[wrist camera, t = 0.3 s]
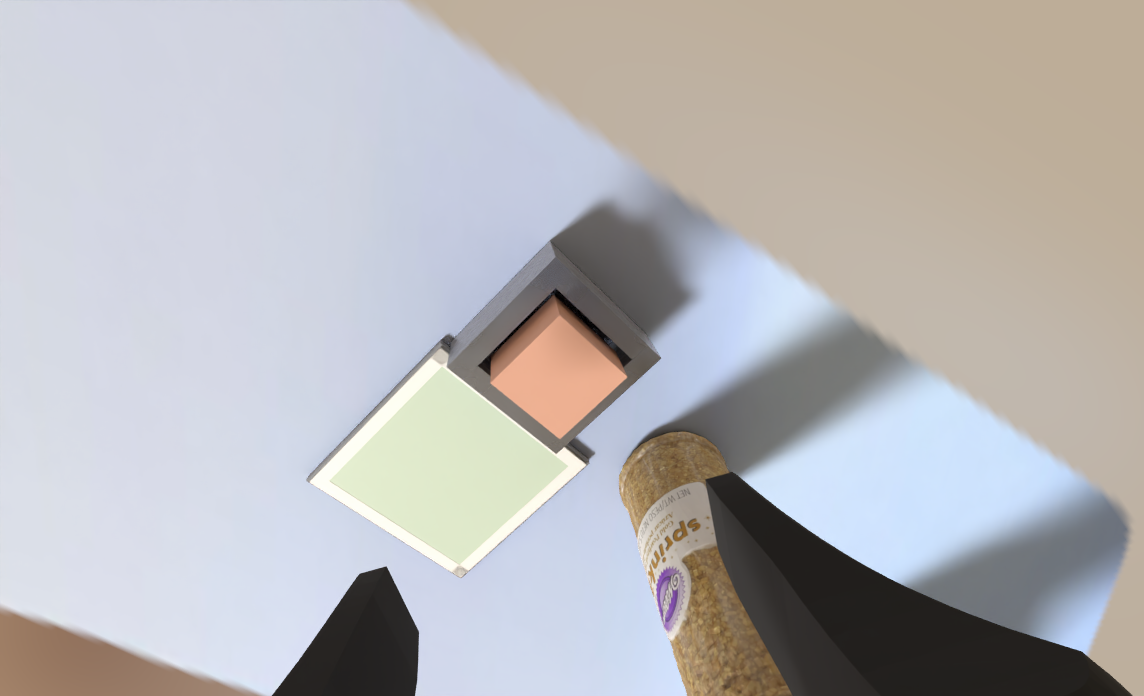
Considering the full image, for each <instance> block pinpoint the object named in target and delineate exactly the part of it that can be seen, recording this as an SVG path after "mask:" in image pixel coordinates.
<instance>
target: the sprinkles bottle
mask: <svg viewBox="0 0 1144 696" xmlns="http://www.w3.org/2000/svg"><path fill="white" fill-rule="evenodd" d="M727 473H729V471H728V469H727V467H726V463H725V460H724V458H723V457H722V455H721V453H720V451H719V450H718V449H717V447H716V446H715V445H713V444H712V443H711V442H710V441H708V440H707V439H705V438H704V437H701V436H698V435H696V434H693V433H689V432H685V431H683V432H670V433H666V434H664V435H661V436H658V437H655V438H652V439H650V440H649V441H647V442H645V443H643V444H641V445H640V446H639V447H638V448H637V449H636V450H634V452H633V453H632V455H631V456H630V457H629V458H628V459H627V461H626V463H625V464H624V465H623V468H622V471H621V473H620V475H619V490H620V495H621V498H622V501H623V503H624V506H625V507H626V509H627V510H628V512H629V515H630V518H631V522H632V524H633V527H634V529H635V533H636V537H637V540H638V549H639V553H640V556H641V559H642V562H643V565H644V568H645V572H646V575H647V578H648V581H649V584H650V587H651V590H652V593H653V597H654V600H655V603H656V606H657V609H658V612H659V614H660V617H661V620H662V624H663V627H664V629H665V632H666V634H667V636H668V639H669V640H670V642H671V645H672V648H673V653H674V656H675V659H676V662H677V666H678V669H679V672H680V675H681V678H682V681H683V684H684V686H685V689H686V692H687V696H792V694H791V692H790V690H789V688H788V686H787V684H786V682H785V681H784V679H783V677H782V675H781V673H780V672H779V670H778V668H777V666H776V664H775V663H774V661H773V659H772V657H771V655H770V654H769V652H768V650H767V648H766V646H765V645H764V643H763V641H762V639H761V637H760V636H759V634H758V632H757V630H756V628H755V627H754V625H753V623H752V621H751V619H750V618H749V616H748V614H747V612H746V610H745V608H744V607H743V605H742V603H741V601H740V599H739V597H738V596H737V594H736V592H735V589H734V587H733V585H732V582H731V580H730V578H729V575H728V573H727V571H726V568H725V566H724V563H723V561H722V558H721V556H720V554H719V551H718V547H717V542H716V536H715V531H714V526H713V520H712V515H711V509H710V504H709V498H708V493H707V488H706V482H705V479H708V478H712V477H716V476H719V475H723V474H727Z"/></svg>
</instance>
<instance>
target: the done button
mask: <svg viewBox="0 0 1144 696" xmlns="http://www.w3.org/2000/svg"><path fill="white" fill-rule="evenodd" d="M626 378H627V375H626V373H625V370H624V368H623V366H622V364H621V362H620V360H619V357H618V355H617V353H616V351H615V350H613V349H612V348H611V347H610V346H609V345H608V344H607V343H606V342H605V341H604V340H603V339H602V338H600V337H599V336H598V335H597V334H596V333H595V332H594V331H593V330H592V329H591V328H590V327H589V326H588V325H586V324H585V323H584V322H583V321H582V320H581V319H580V318H579V317H578V316H577V315H576V314H575V313H573V312H572V311H571V310H570V309H569V308H568V307H567V306H566V305H565V304H564V303H563V302H562V301H560V300H559V299H558V298H557V297H556V296H555V295H553V296H552V297H551V298H550V299H549V300H548V301H547V302H546V303H545V304H544V305H543V306H542V307H541V308H540V309H539V310H538V311H537V312H536V313H535V314H534V315H533V316H532V317H531V318H530V319H528V320H527V321H526V322H525V323H524V324H523V325H522V326H521V327H520V328H519V329H518V330H517V331H516V332H515V333H514V334H513V335H512V336H511V337H510V338H509V339H508V340H507V341H506V342H505V343H504V344H503V345H502V346H501V347H500V348H499V349H498V350H497V351H496V352H495V353H494V354H493V355H492V356H491V379H490V383H491V384H492V385H493V386H494V387H496V388H497V389H498V390H499V391H501V392H502V393H503V394H504V395H506V396H507V397H508V398H509V399H511V400H512V401H513V402H514V403H515V404H517V405H518V406H519V407H520V408H522V409H523V410H524V411H525V412H527V413H528V414H529V415H530V416H532V417H533V418H534V419H535V420H537V421H538V422H539V423H540V424H542V425H543V426H544V427H545V428H547V429H548V430H549V431H550V432H551V433H553V434H554V435H555V436H556V437H558V438H559V439H561V438H562V437H563V436H564V435H565V434H566V433H567V432H568V431H570V430H571V429H572V428H573V427H574V426H575V425H576V424H577V423H578V422H579V421H580V420H581V419H583V418H584V417H585V416H586V415H587V414H588V413H589V412H590V411H591V410H592V409H593V408H595V407H596V406H597V405H598V404H599V403H600V402H601V401H602V400H603V399H604V398H605V397H606V396H608V395H609V394H610V393H611V392H612V391H613V390H614V389H615V388H616V387H617V386H618V385H620V384H621V383H622V382H623V381H624V380H625V379H626Z"/></svg>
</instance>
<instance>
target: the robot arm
mask: <svg viewBox="0 0 1144 696" xmlns="http://www.w3.org/2000/svg"><path fill="white" fill-rule="evenodd" d="M705 482H706V488H707V493H708V498H709V504H710V509H711V515H712V520H713V526H714V531H715V536H716V542H717V547H718V551H719V554H720V556H721V558H722V561H723V563H724V566H725V568H726V571H727V573H728V575H729V578H730V580H731V582H732V585H733V587H734V589H735V592H736V594H737V596H738V597H739V599H740V601H741V603H742V605H743V607H744V608H745V610H746V612H747V614H748V616H749V618H750V619H751V621H752V623H753V625H754V627H755V628H756V630H757V632H758V634H759V636H760V637H761V639H762V641H763V643H764V645H765V646H766V648H767V650H768V652H769V654H770V655H771V657H772V659H773V661H774V663H775V664H776V666H777V668H778V670H779V672H780V673H781V675H782V677H783V679H784V681H785V682H786V684H787V686H788V688H789V690H790V692H791V694H792V696H1132V695H1131V694H1130V693H1129V692H1128V691H1127V690H1126V689H1125V688H1124V687H1123V686H1122V685H1121V684H1120V683H1119V682H1117V681H1116V680H1115V679H1114V678H1113V677H1112V676H1111V675H1110V674H1108V673H1107V672H1106V671H1105V670H1103V669H1102V668H1101V667H1100V666H1098V665H1097V664H1096V663H1095V662H1093V661H1092V660H1091V659H1090V658H1089V657H1088V656H1086V655H1085V654H1084V653H1083V652H1081V651H1078V650H1075V649H1072V648H1068V647H1065V646H1062V645H1059V644H1056V643H1052V642H1049V641H1046V640H1043V639H1040V638H1036V637H1033V636H1030V635H1027V634H1024V633H1020V632H1017V631H1014V630H1011V629H1008V628H1005V627H1002V626H1000V625H997V624H994V623H992V622H989V621H986V620H984V619H981V618H978V617H976V616H973V615H970V614H968V613H965V612H963V611H960V610H958V609H955V608H953V607H950V606H948V605H946V604H943V603H941V602H939V601H937V600H934V599H932V598H930V597H928V596H925V595H923V594H921V593H919V592H916V591H914V590H912V589H909V588H907V587H905V586H903V585H901V584H899V583H897V582H895V581H893V580H891V579H889V578H887V577H885V576H883V575H882V574H880V573H878V572H876V571H874V570H872V569H870V568H869V567H867V566H865V565H863V564H861V563H860V562H858V561H856V560H854V559H853V558H851V557H849V556H848V555H846V554H844V553H843V552H841V551H840V550H838V549H836V548H835V547H833V546H832V545H830V544H829V543H827V542H825V541H824V540H822V539H821V538H819V537H818V536H816V535H815V534H813V533H812V532H810V531H809V530H807V529H806V528H805V527H803V526H802V525H800V524H799V523H798V522H796V521H795V520H793V519H792V518H791V517H789V516H788V515H786V514H785V513H784V512H782V511H781V510H780V509H778V508H777V507H776V506H774V505H773V504H772V503H771V502H769V501H768V500H767V499H765V498H764V497H763V496H762V495H760V494H759V493H758V492H757V491H755V490H754V489H753V488H752V487H751V486H749V485H748V484H747V483H746V482H745V481H744V480H742V479H741V478H740V477H739V476H738V475H736V474H734V473H733V472H730V473H727V474H723V475H719V476H716V477H712V478H708V479H705ZM418 645H419V631H418V629H417V627H416V625H415V623H414V621H413V619H412V617H411V615H410V613H409V611H408V609H407V607H406V605H405V603H404V601H403V599H402V597H401V595H400V593H399V591H398V589H397V587H396V585H395V583H394V581H393V579H392V577H391V575H390V572H389V570H388V568H387V567H383V568H379V569H376V570H372V571H368V572H365V573H361V574H359V575H358V577H357V578H356V579H355V581H354V582H353V584H352V585H351V586H350V588H349V589H348V591H347V592H346V594H345V595H344V596H343V598H342V599H341V601H340V602H339V604H338V605H337V607H336V608H335V610H334V611H333V613H332V614H331V615H330V617H329V618H328V620H327V621H326V623H325V624H324V626H323V627H322V628H321V630H320V631H319V633H318V634H317V636H316V637H315V638H314V640H313V641H312V643H311V644H310V646H309V647H308V648H307V650H306V651H305V653H304V654H303V655H302V657H301V658H300V660H299V661H298V662H297V664H296V665H295V666H294V668H293V669H292V670H291V671H290V673H289V674H288V675H287V677H286V678H285V679H284V681H283V682H282V683H281V685H280V686H279V687H278V689H277V690H276V691H275V692H274V694H273V695H272V696H415V691H416V684H417V672H418Z"/></svg>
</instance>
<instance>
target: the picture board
mask: <svg viewBox="0 0 1144 696" xmlns="http://www.w3.org/2000/svg"><path fill="white" fill-rule="evenodd" d="M449 351H450V347H449V346H448V345H447V344H446V343H444V342H443V341H442V340H440V341H439V342H438V344H437V345H436V346H435V347H434V348H433V349H432V350H431V351H430V352H429V353H428V354H427V355H426V356H425V357H424V358H423V359H422V360H421V361H420V362H419V363H418V364H417V365H416V366H415V367H414V368H413V369H412V370H411V371H410V372H409V373H408V374H407V375H406V376H405V377H404V378H403V379H402V381H401V382H400V383H399V384H398V385H397V386H396V387H395V388H394V389H393V390H392V391H391V392H390V393H389V394H388V395H387V396H386V397H385V398H384V399H383V400H382V401H381V402H380V403H379V404H378V405H377V406H376V407H375V408H374V409H373V410H372V411H371V412H370V413H369V414H368V415H367V416H366V417H365V419H364V420H363V421H362V422H361V423H360V424H359V425H358V426H357V427H356V428H355V429H354V430H353V431H352V432H351V433H350V434H349V435H348V436H347V437H346V438H345V439H344V440H343V441H342V442H341V443H340V444H339V445H338V446H337V447H336V448H335V449H334V450H333V451H332V452H331V453H330V454H329V455H328V457H327V458H326V459H325V460H324V461H323V462H322V463H321V464H320V465H319V466H318V467H317V468H316V469H315V470H314V471H313V472H312V473H311V474H310V475H309V476H308V478H307V480H306V481H308V482H309V483H311V484H312V485H314V486H316V487H317V488H319V489H320V490H322V491H323V492H325V493H327V494H328V495H330V496H331V497H333V498H334V499H336V500H338V501H339V502H341V503H342V504H344V505H346V506H347V507H349V508H350V509H352V510H353V511H355V512H357V513H358V514H360V515H361V516H363V517H364V518H366V519H368V520H369V521H371V522H372V523H374V524H376V525H377V526H379V527H380V528H382V529H383V530H385V531H387V532H388V533H390V534H391V535H393V536H394V537H396V538H398V539H399V540H401V541H402V542H404V543H406V544H407V545H409V546H410V547H412V548H413V549H415V550H417V551H418V552H420V553H421V554H423V555H424V556H426V557H428V558H429V559H431V560H432V561H434V562H435V563H437V564H439V565H440V566H442V567H443V568H445V569H447V570H448V571H450V572H451V573H453V574H454V575H456V576H458V577H459V578H462V577H463V576H464V575H465V574H467V573H468V572H469V571H470V570H471V569H472V568H473V567H474V566H476V565H477V564H478V563H479V562H480V561H481V560H482V559H483V558H484V557H486V556H487V555H488V554H489V553H490V552H491V551H492V550H493V549H494V548H496V547H497V546H498V545H499V544H500V543H501V542H502V541H503V540H505V539H506V538H507V537H508V536H509V535H510V534H511V533H512V532H513V531H515V530H516V529H517V528H518V527H519V526H520V525H521V524H522V523H524V522H525V521H526V520H527V519H528V518H529V517H530V516H531V515H532V514H534V513H535V512H536V511H537V510H538V509H539V508H540V507H541V506H542V505H544V504H545V503H546V502H547V501H548V500H549V499H550V498H551V497H553V496H554V495H555V494H556V493H557V492H558V491H559V490H560V489H561V488H563V487H564V486H565V485H566V484H567V483H568V482H569V481H570V480H571V479H573V478H574V477H575V476H576V475H577V474H578V473H579V472H580V471H582V470H583V469H584V468H585V467H586V466H587V465H588V464H589V459H588V458H587V457H585V456H584V455H583V454H582V453H580V452H579V451H578V450H577V449H575V448H574V447H573V446H572V445H570V444H569V443H568V444H567V445H566V446H565V447H564V448H563V449H562V450H560V451H559V452H558V453H557V454H555V453H554V452H553V451H552V450H550V449H549V448H548V447H547V446H545V445H544V444H543V443H542V442H540V441H539V440H538V439H537V438H535V437H534V436H533V435H531V434H530V433H529V432H528V431H526V430H525V429H524V428H523V427H521V426H520V425H519V424H518V423H516V422H515V421H514V420H512V419H511V418H510V417H509V416H507V415H506V414H505V413H504V412H502V411H501V410H500V409H499V408H497V407H496V406H495V405H494V404H492V403H491V402H490V401H488V400H487V399H486V398H485V397H483V396H482V395H481V394H480V393H478V392H477V391H476V390H475V389H473V388H472V387H471V386H469V385H468V384H467V383H466V382H464V381H463V380H462V379H461V378H459V377H458V376H457V375H456V374H454V373H453V372H452V371H451V370H449V369H448V368H447V362H448V356H449Z"/></svg>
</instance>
